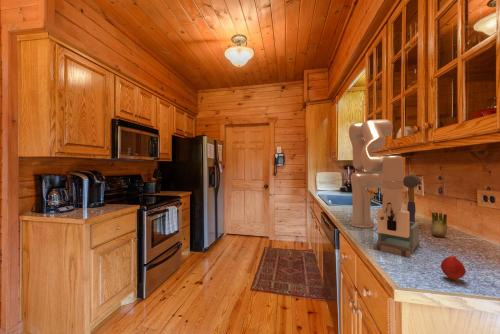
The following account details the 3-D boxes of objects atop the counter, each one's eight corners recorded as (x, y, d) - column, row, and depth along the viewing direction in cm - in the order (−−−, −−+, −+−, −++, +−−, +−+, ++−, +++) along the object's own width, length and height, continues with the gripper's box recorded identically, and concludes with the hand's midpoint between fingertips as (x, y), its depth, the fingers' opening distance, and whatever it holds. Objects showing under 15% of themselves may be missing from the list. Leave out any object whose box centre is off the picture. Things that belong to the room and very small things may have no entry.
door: (379, 230, 102) (379, 208, 102) (409, 236, 94) (409, 211, 94) (376, 232, 99) (376, 209, 99) (407, 238, 91) (407, 213, 91)
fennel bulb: (448, 238, 112) (448, 213, 112) (440, 239, 111) (440, 214, 111) (436, 234, 118) (436, 211, 118) (428, 235, 117) (428, 211, 117)
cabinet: (386, 238, 112) (386, 218, 112) (418, 245, 103) (418, 223, 103) (373, 249, 100) (373, 225, 99) (409, 257, 90) (409, 232, 90)
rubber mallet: (418, 231, 124) (418, 175, 123) (401, 228, 129) (401, 174, 128) (420, 226, 133) (420, 174, 133) (405, 224, 138) (405, 173, 137)
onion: (438, 279, 74) (438, 254, 74) (443, 273, 77) (443, 249, 77) (463, 286, 69) (463, 260, 69) (467, 280, 73) (467, 255, 72)
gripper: (388, 183, 105) (388, 224, 105) (376, 186, 94) (376, 231, 94) (407, 184, 100) (408, 227, 100) (397, 187, 88) (398, 235, 88)
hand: (392, 228), depth 97 cm, fingers closed on door, 3 cm apart
